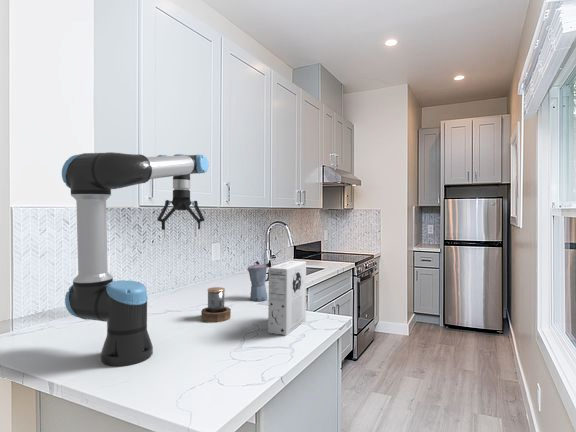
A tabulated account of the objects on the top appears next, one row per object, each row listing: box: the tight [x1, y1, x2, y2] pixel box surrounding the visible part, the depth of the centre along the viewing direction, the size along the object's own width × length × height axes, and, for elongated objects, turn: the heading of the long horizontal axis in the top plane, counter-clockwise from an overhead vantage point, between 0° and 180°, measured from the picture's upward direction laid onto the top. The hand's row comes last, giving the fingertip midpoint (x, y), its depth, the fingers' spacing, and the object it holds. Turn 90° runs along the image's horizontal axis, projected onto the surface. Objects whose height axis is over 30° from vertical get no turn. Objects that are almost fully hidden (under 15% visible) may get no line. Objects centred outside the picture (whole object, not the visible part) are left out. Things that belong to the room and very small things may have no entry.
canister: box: [207, 286, 226, 313], centre depth 160 cm, size 7×7×12 cm
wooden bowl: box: [200, 306, 232, 323], centre depth 160 cm, size 12×12×4 cm
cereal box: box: [267, 260, 307, 336], centre depth 150 cm, size 22×8×25 cm, turn 157°
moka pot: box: [246, 260, 272, 302], centre depth 193 cm, size 10×15×20 cm, turn 137°
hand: (181, 237), depth 167 cm, fingers open, 13 cm apart
